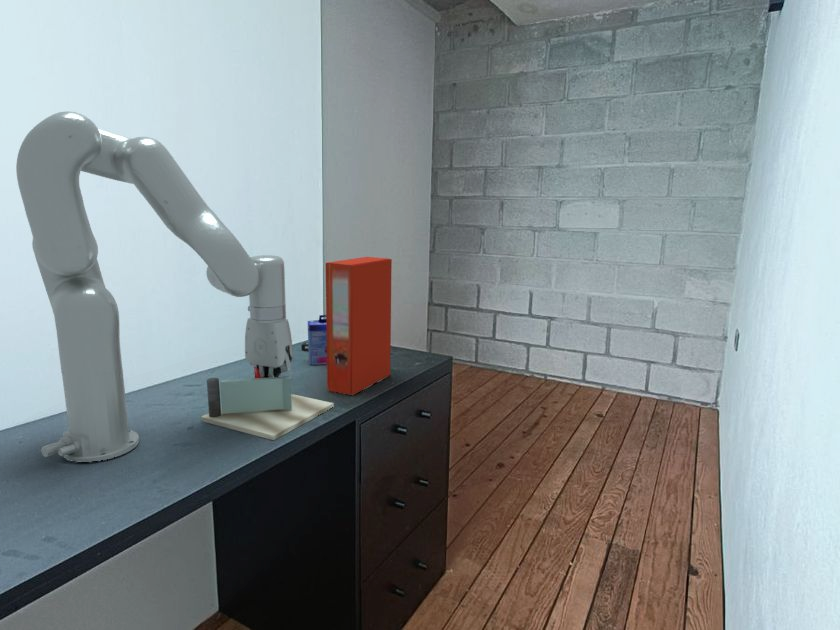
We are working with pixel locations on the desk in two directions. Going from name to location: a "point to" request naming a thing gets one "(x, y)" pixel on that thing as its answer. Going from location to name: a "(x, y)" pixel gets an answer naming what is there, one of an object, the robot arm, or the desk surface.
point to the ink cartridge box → (317, 341)
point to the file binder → (358, 323)
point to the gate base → (263, 415)
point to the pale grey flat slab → (256, 394)
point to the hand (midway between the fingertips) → (271, 393)
